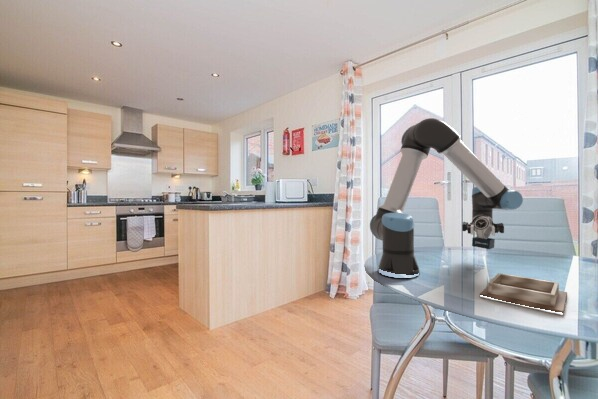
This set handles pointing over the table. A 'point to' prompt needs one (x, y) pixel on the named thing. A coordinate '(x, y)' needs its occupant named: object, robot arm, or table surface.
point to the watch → (483, 233)
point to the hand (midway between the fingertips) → (482, 231)
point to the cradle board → (526, 292)
